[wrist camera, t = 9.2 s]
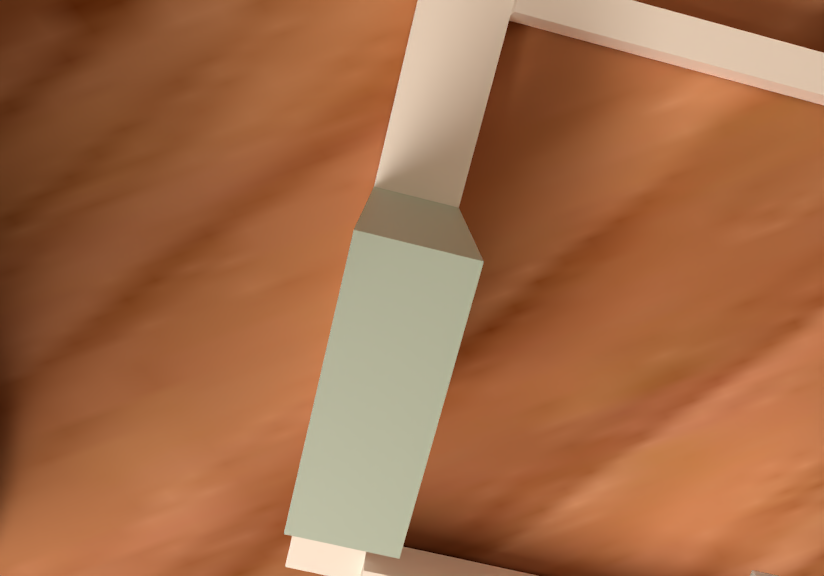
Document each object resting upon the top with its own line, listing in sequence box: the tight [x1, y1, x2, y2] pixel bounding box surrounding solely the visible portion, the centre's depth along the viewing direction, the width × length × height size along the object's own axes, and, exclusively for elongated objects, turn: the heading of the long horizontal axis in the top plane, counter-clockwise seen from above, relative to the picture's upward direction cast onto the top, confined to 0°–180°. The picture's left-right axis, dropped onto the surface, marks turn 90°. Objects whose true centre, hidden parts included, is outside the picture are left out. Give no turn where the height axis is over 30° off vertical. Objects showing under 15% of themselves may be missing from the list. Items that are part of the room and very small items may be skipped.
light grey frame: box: [284, 0, 824, 576], centre depth 22 cm, size 31×23×10 cm
